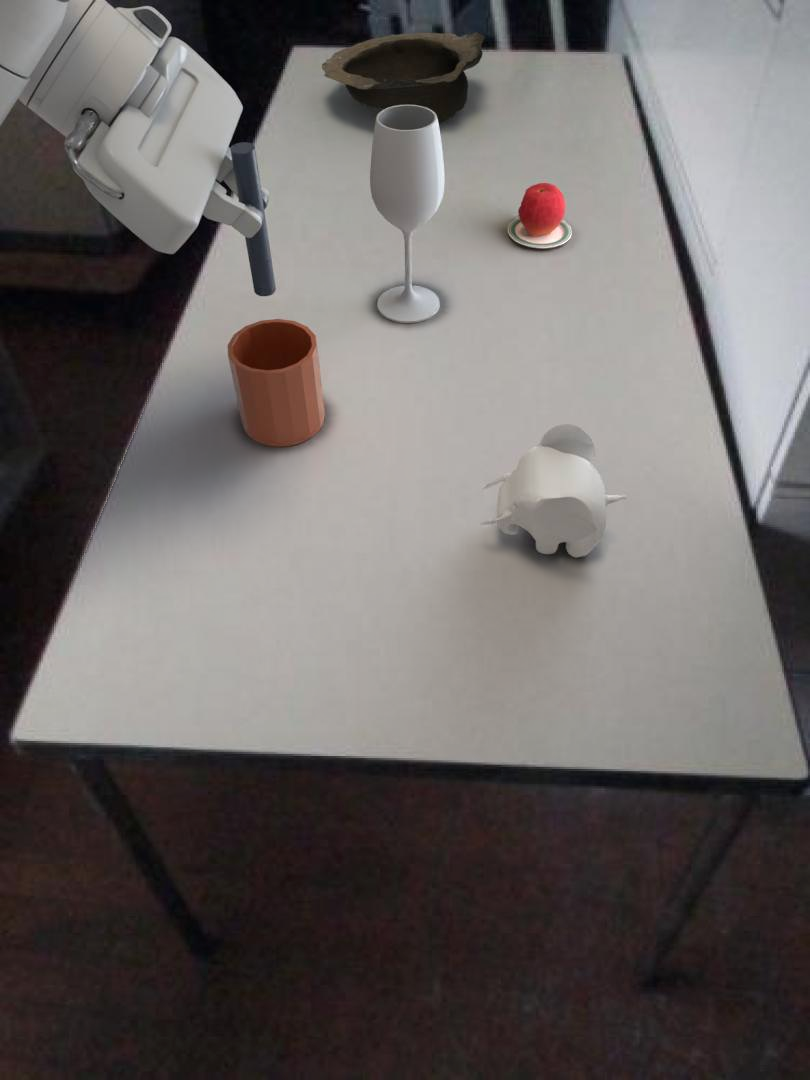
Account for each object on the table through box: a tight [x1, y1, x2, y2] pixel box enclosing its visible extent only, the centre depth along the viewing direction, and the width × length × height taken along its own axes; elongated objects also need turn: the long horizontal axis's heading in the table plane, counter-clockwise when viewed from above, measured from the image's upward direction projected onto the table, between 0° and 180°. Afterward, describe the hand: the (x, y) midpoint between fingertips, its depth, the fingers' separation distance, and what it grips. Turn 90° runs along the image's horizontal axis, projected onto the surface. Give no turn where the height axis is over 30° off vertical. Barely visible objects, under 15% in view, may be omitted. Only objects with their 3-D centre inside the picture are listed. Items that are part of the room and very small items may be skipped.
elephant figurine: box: [479, 423, 627, 558], centre depth 72 cm, size 10×12×9 cm
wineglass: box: [369, 105, 445, 324], centre depth 90 cm, size 8×8×21 cm
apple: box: [507, 182, 573, 249], centre depth 105 cm, size 8×8×6 cm
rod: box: [230, 141, 277, 297], centre depth 67 cm, size 2×2×12 cm
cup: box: [227, 318, 326, 448], centre depth 82 cm, size 8×8×9 cm
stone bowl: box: [321, 31, 486, 124], centre depth 130 cm, size 25×25×9 cm
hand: (261, 217), depth 66 cm, fingers closed on rod, 2 cm apart
